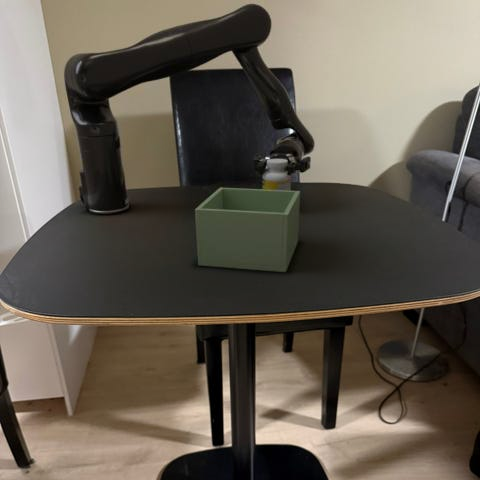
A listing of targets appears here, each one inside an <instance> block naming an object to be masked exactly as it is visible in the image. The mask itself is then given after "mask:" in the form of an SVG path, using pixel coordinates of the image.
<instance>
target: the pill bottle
mask: <svg viewBox="0 0 480 480" xmlns="http://www.w3.org/2000/svg"><path fill="white" fill-rule="evenodd" d="M287 166H288V161H287V160H285V159H269V160H267V167H268V171H266V172H265V173H264V174H262V189H265V190H288V191H292V190H291V188H292V186H291V185H292V174H291V175H287V173H288V171H286V168H287Z"/></svg>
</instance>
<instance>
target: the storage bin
mask: <svg viewBox="0 0 480 480" xmlns="http://www.w3.org/2000/svg"><path fill="white" fill-rule="evenodd" d="M300 198H301V190H290V191H288V190H265V189H263V188H243V187H242V188H241V187H219V188H218V189H216V191H213V193H212V194H210V196H209V197H207V198H206V199H205V200H204V201H203V202H201V203H200V204H199V205H198V206H197V207H196V208H195V209H194V217H195V235H196V251H197V265H198V266H204V267H215V268H225V269H226V268H227V269H238V270H240V269H242V270H252V271H264V272H265V271H266V272H277V273H287V272H288V271H287V270H288V268H289V265H290V263H291V260H292V257H293V255H294V253H295V250H296V248H297V245H298V242H299V228H300V227H299V226H300V225H299V223H300V206H301V205H300V204H301V199H300Z"/></svg>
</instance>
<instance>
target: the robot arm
mask: <svg viewBox="0 0 480 480" xmlns="http://www.w3.org/2000/svg"><path fill="white" fill-rule="evenodd" d="M271 31H272V19H271V16H270V14H269V12H268V11H267V10H266V9H265V8H264V7H263V6H261V5H259V4H256V3H247V4H245V5H242V6H241V7H239V8H237V9H235V10H233V11H231V12H229V13H226V14H224V15H221V16H219V17H216V18H210V19H204V20H198V21H193V22H189V23H185V24H180V25H177V26H176V25H175V26H172V27H169V28H166V29H162V30H160V31H157V32H154V33H152V34H150V35H149V36H146V37H145V38H143V39H141V40H140V41H138V42H136V43H134V44H132V45H130V46H128V47H124V48H123V47H122V48H119V49H114V50H109V51H102V52H86V53H85V52H84V53H83V52H82V53H76V54H73V55H72V56H71V57H70V58H69V59H68V60H67V61H66V64H65V65H64V69H63V70H64V71H63V78H64V79H63V80H64V87H65V92H66V97H67V102H68V107H69V112H70V117H71V119H72V122H73V125H74V127H75V131H76V137H77V143H78V149H79V154H80V160H81V166H82V169H80V170H79V177H80V183H81V185H80V186H78V190H79V191H78V192H79V198H80V201H81V202H82V204H83V206H84V207H85V212H89V213H91V214H94V215H113V214H119V213H123V212H125V211H128V210H129V208H130V205H129V203H130V196H128V193H127V183H126V177H125V176H126V175H125V169H124V168H125V167H124V160H123V152H122V145H121V136H120V129H119V122H118V120H117V119H116V117H115V115H114V114H113V111H112V109H111V104H110V100H109V99H111V98H113V97H116V96H117V95H119V94H121V93H123V92H125V91H127V90H130V89H132V88H134V87H136V86H139V85H141V84H144V83H145V84H146V83H148V82H149V83H150V82H153V81H160V80H162V79H166V78H170V77H174V76H177V75H180V74H184V73H186V72H189V71H191V70H194V69H196V68H199V67H200V66H202V65H205V64H207V63H209V62H211V61H212V60H215V59H217V58H219V57H220V56H222V55H224V54H227V53H230V52H231V53H232V55H233V56H234V57H235V59H236V60H237V62H238V63H239V66H240V67H241V68H242V70H243V72H244V73H245V74H246V77H247V78H248V79H249V82H250V83H251V85H252V87H253V88H254V89H255V92H256V93H257V95H258V98H259V99H260V102H261V103H262V105H263V108H264V110H265V113H266V115H267V117H268V119H269V122H270V123H271V126H272V128H273V129H274V130H276V131H282V130H286V129H290V130H292V131H293V132H291V133H289V134H287V135H284V136H283V137H280V138H279V139H278V140H277V141H276V142H275V143H276V144H275V146H274V147H273V148H272V149H271V150H270V152H269V155H266V156H265V158H262V156H260V155H258V154H255V155H253V162H252V163H253V165H252V167H253V169H252V170H253V171H254V172H257V173H259V175H263V174H264V173H265V172H266V171H268V167H267V160H269V159H285V160H287V161H288V166H287V168H286V171H288V173H287V175H291V176H292V174H296V173H297V172H299V173H300V174H303V173H305V172H307V171H308V170H310V169H311V162H312V158H311V156H307V155H310V154H311V153H312V152H314V149H315V145H316V143H315V138H314V136H313V135H312V134H311V132H310V131H309V130H308V128H307V127H306V125H305V124H304V123H303V121H301V119H300V117H299V116H298V114H297V112H296V110H295V108H294V105H293V103H292V101H291V98H290V96H289V94H288V91H287V89H286V88H285V86H284V85H283V84H282V82H281V81H280V80H279V79H278V78H277V77H276V76H275V74H274V73H273V72H272V71H271V70H270V68H269V67H268V65H267V64H266V63H265V61H264V60H263V57H262V55H261V54H260V50H259V48H258V47H260V46H262V45H263V44H264V43H266V41H267V40H268V38H269V37H270V34H271Z"/></svg>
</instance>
